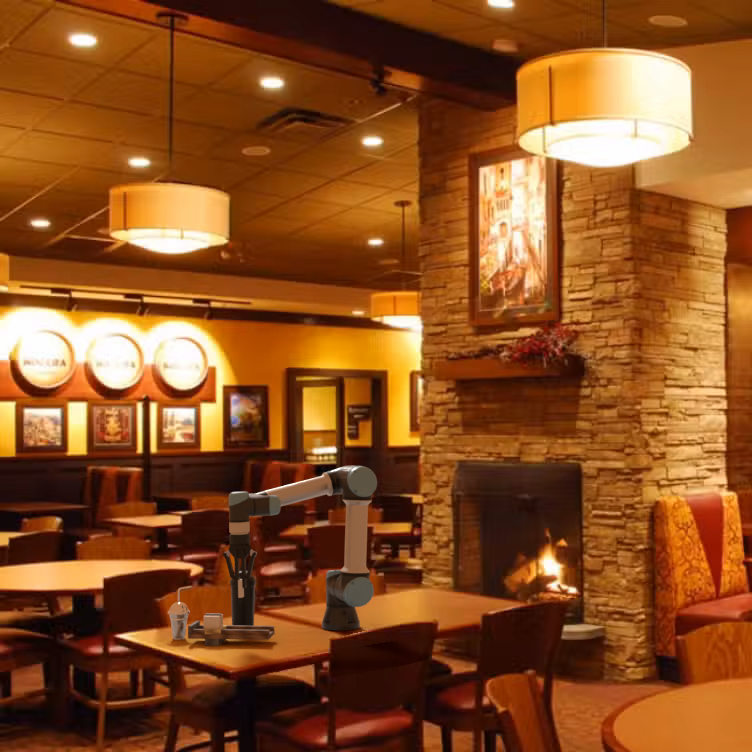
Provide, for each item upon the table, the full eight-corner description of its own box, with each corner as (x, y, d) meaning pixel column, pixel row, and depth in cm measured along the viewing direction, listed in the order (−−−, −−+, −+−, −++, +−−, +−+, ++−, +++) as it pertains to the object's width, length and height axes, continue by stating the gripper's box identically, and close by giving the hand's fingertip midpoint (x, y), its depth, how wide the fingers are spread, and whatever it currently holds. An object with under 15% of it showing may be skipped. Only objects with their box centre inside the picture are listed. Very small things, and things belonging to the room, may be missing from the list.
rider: (223, 630, 418) (223, 612, 419) (219, 633, 413) (219, 614, 413) (207, 630, 419) (207, 612, 419) (203, 632, 414) (203, 614, 414)
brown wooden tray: (275, 640, 420) (275, 621, 420) (268, 646, 407) (268, 627, 407) (197, 639, 423) (197, 620, 423) (187, 645, 410) (187, 626, 411)
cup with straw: (176, 635, 430) (176, 583, 431) (195, 637, 426) (195, 584, 427) (162, 639, 423) (163, 586, 424) (182, 641, 419) (182, 587, 420)
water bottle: (258, 627, 447) (258, 569, 448) (252, 632, 437) (252, 573, 438) (233, 627, 448) (233, 569, 449) (227, 632, 438) (227, 573, 439)
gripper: (258, 532, 420) (260, 595, 419) (224, 532, 421) (226, 595, 420) (254, 534, 412) (256, 598, 411) (220, 534, 414) (221, 598, 413)
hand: (241, 596), depth 416 cm, fingers closed
